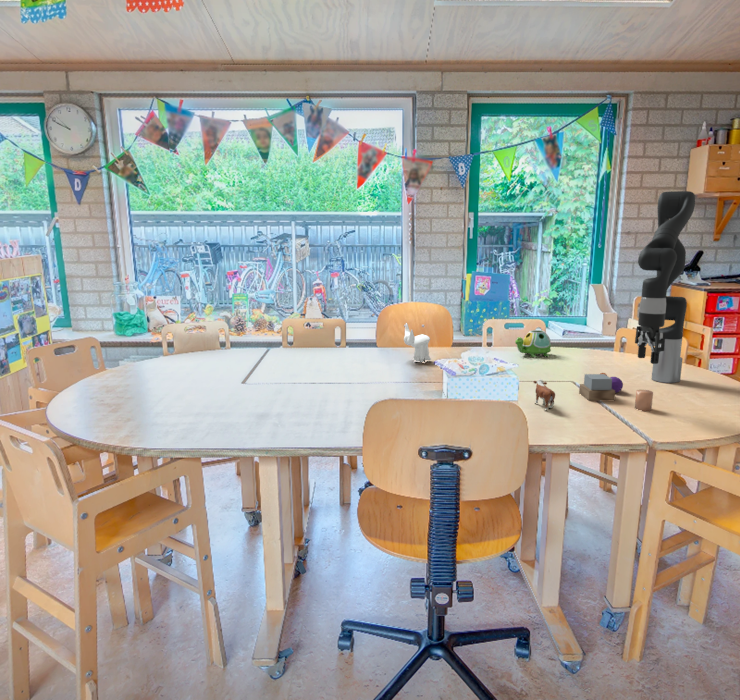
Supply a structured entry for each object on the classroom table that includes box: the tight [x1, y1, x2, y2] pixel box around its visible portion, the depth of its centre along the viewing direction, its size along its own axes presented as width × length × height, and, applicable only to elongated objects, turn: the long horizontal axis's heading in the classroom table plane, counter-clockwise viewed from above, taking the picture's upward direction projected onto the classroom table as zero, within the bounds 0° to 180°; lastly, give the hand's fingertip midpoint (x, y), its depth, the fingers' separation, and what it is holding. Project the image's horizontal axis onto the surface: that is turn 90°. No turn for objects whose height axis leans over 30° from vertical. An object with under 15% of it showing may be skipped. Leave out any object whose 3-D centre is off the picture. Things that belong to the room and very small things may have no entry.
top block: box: [583, 373, 612, 390], centre depth 194 cm, size 7×7×4 cm
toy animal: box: [403, 322, 432, 363], centre depth 252 cm, size 20×12×17 cm, turn 3°
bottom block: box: [578, 383, 616, 402], centre depth 195 cm, size 9×9×4 cm
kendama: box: [599, 372, 624, 394], centre depth 207 cm, size 6×6×20 cm
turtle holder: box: [515, 329, 552, 358], centre depth 262 cm, size 12×18×12 cm
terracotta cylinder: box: [634, 389, 654, 412], centre depth 181 cm, size 5×5×6 cm
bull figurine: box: [533, 378, 556, 411], centre depth 184 cm, size 4×13×8 cm, turn 2°
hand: (647, 360), depth 178 cm, fingers open, 8 cm apart
